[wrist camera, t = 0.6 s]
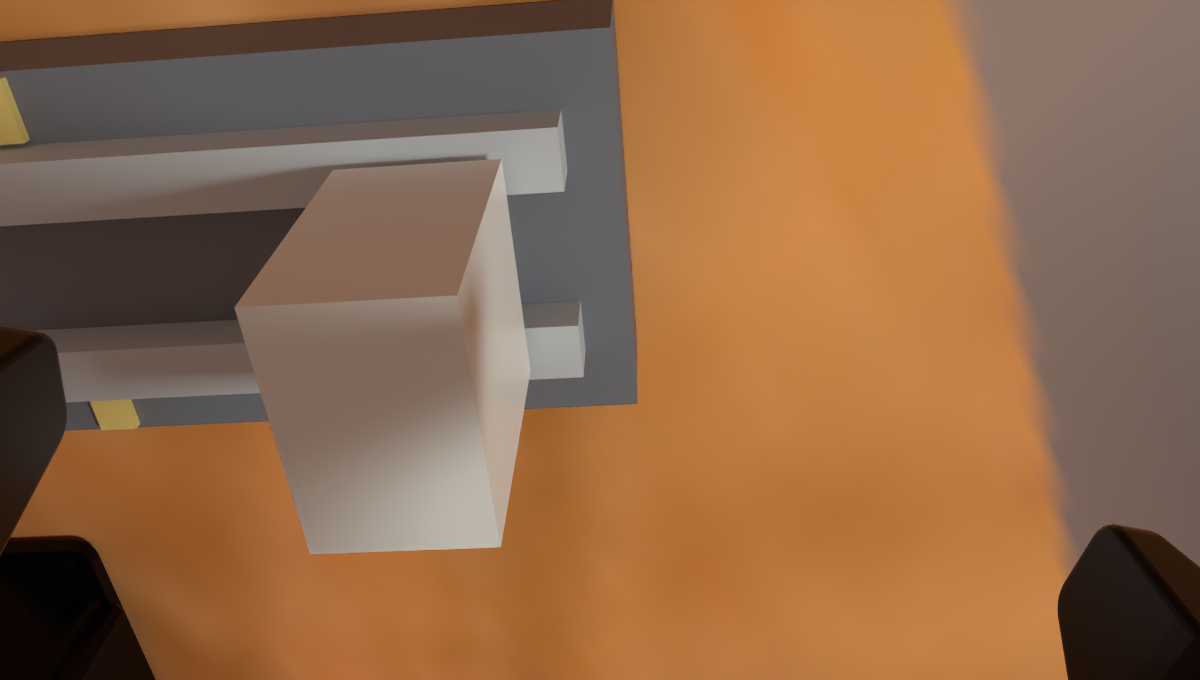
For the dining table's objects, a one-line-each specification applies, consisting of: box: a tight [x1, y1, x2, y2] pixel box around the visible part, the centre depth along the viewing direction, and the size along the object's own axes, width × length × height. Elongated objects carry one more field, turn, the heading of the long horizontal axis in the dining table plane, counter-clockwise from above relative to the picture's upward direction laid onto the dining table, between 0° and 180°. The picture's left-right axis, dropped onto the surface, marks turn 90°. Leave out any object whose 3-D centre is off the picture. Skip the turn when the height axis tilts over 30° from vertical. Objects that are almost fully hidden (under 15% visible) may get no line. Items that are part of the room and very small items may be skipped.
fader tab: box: [234, 159, 530, 554], centre depth 17 cm, size 3×4×6 cm
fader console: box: [0, 0, 637, 431], centre depth 20 cm, size 15×8×4 cm, turn 94°
